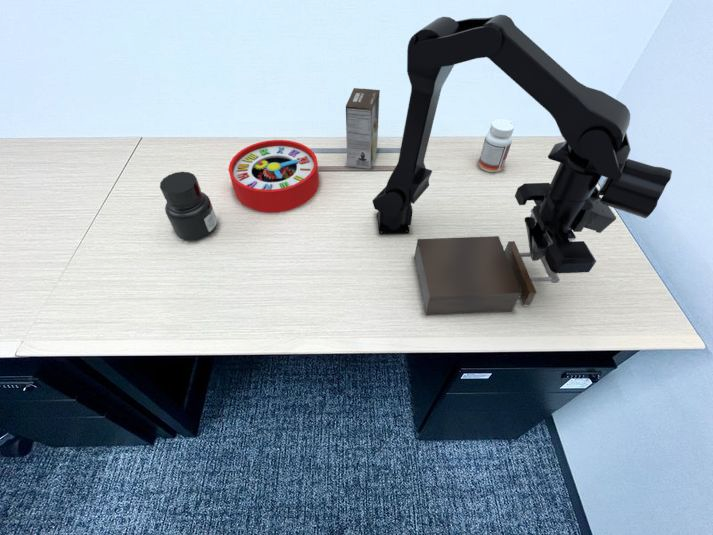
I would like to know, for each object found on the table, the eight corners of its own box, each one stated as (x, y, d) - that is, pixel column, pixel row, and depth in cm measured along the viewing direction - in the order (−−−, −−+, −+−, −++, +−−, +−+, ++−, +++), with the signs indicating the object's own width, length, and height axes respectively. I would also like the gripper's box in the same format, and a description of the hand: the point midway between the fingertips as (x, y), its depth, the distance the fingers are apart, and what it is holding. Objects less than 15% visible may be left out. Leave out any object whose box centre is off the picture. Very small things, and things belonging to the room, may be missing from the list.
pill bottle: (494, 156, 103) (506, 115, 94) (507, 170, 99) (522, 128, 90) (473, 161, 101) (484, 120, 93) (486, 175, 97) (499, 133, 89)
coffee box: (353, 146, 105) (353, 86, 93) (377, 149, 105) (380, 89, 92) (346, 166, 100) (345, 105, 87) (371, 170, 99) (373, 108, 87)
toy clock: (219, 152, 93) (298, 132, 99) (225, 173, 98) (301, 152, 104) (242, 202, 82) (331, 176, 87) (248, 223, 86) (332, 197, 92)
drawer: (534, 253, 79) (541, 239, 76) (558, 304, 71) (567, 290, 68) (436, 257, 79) (439, 242, 76) (449, 308, 71) (453, 295, 68)
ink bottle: (224, 234, 84) (208, 188, 75) (182, 249, 81) (160, 204, 72) (210, 207, 89) (193, 162, 80) (170, 221, 86) (148, 176, 77)
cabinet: (490, 255, 80) (498, 236, 76) (511, 311, 71) (521, 292, 67) (414, 258, 80) (417, 238, 75) (425, 315, 71) (429, 296, 66)
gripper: (656, 231, 54) (601, 299, 65) (595, 152, 66) (558, 222, 78) (575, 234, 53) (535, 302, 65) (529, 154, 65) (502, 223, 77)
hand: (534, 259), depth 71 cm, fingers closed
